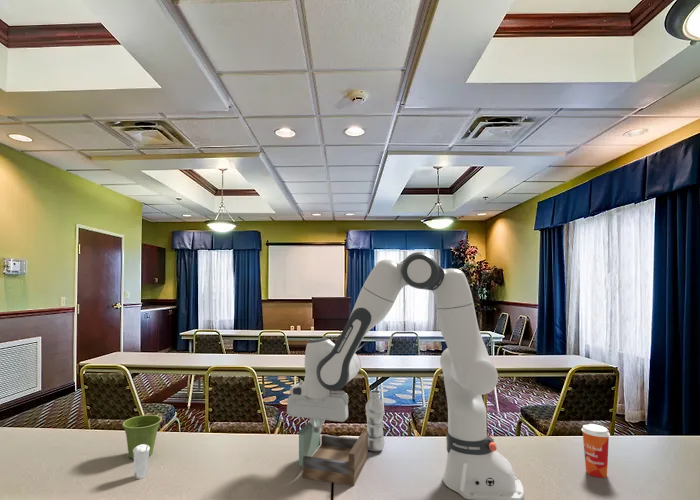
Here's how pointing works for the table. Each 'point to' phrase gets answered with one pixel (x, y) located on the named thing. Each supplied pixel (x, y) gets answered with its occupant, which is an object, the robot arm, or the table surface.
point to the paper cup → (596, 449)
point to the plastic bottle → (375, 421)
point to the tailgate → (308, 441)
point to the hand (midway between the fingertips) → (317, 432)
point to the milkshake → (141, 460)
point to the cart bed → (337, 459)
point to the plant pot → (141, 432)
